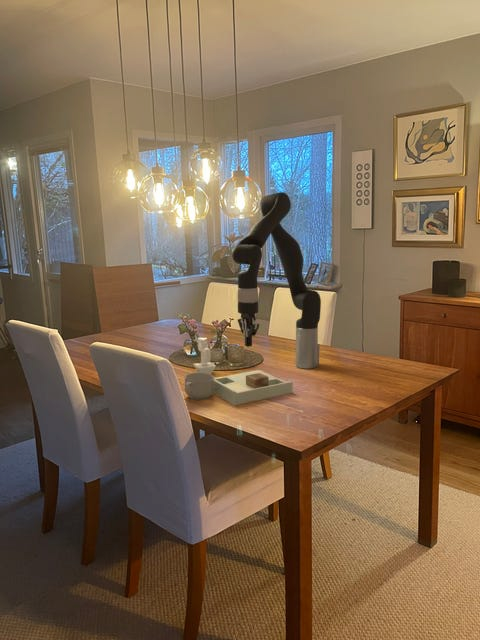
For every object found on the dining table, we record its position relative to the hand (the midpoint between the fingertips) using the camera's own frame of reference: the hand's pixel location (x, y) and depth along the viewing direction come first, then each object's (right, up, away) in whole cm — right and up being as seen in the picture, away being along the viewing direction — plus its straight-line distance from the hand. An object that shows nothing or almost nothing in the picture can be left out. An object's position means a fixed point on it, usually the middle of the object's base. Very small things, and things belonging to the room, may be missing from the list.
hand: (248, 346), depth 198 cm
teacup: (-19, -19, -5) cm, 27 cm away
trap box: (0, -16, +3) cm, 17 cm away
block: (+3, -14, -1) cm, 15 cm away
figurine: (-18, -13, +24) cm, 33 cm away
